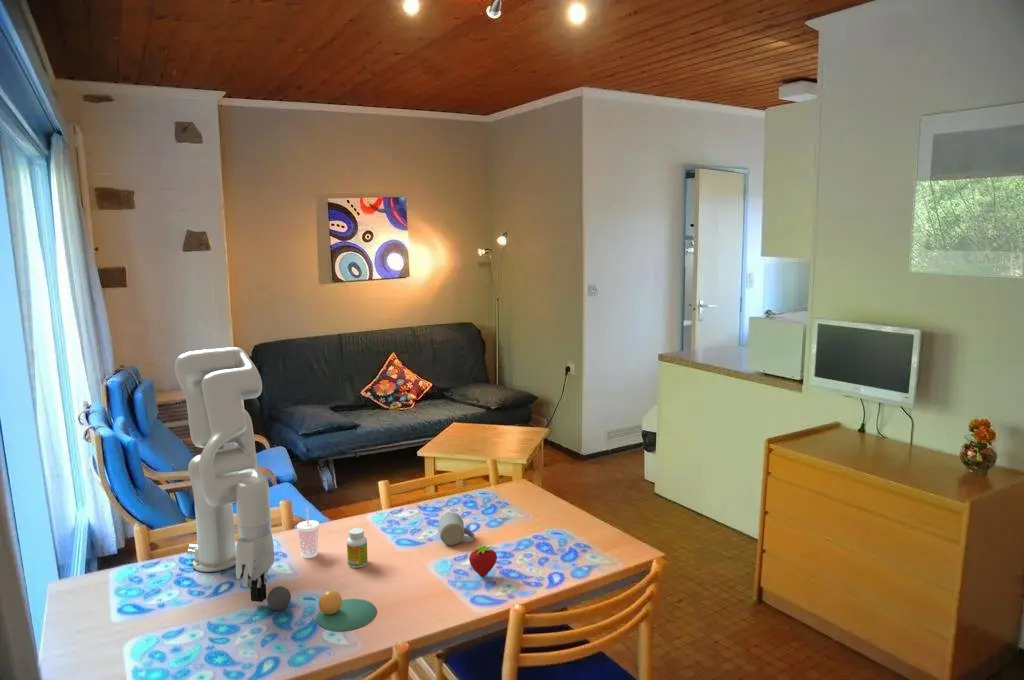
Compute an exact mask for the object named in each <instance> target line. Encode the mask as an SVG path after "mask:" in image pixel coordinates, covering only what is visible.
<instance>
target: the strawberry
mask: <svg viewBox="0 0 1024 680" xmlns="http://www.w3.org/2000/svg"><path fill="white" fill-rule="evenodd" d="M482 545H483V542H482V543H481V544H479V545H478V547H474V548H472V552H471V553H470V554H469V558H468V561H469V564H470V567H471V568H472V569H473V571H474V572H475V573H476V574H478V575H479V577H480V578H484V576H485V577H486V576H487V575H488V574H489V572H491V570H492V569H493V567H495V565H496V563H497V559H498V555H497V552H496V551H495V550H493V549H491V548H492V546H487V545H483V546H482Z"/></svg>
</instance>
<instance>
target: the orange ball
mask: <svg viewBox="0 0 1024 680" xmlns="http://www.w3.org/2000/svg"><path fill="white" fill-rule="evenodd" d="M342 600H343V599H342V596H341V594H340V593H339V592H338V591H337V590H332V589H331V590H326V591H325V592H322V594H321V595H320V596H319V599H318V609H319V611H320V610H321V612H323V613H324V614H327V615H332V614H334V613H336V612H337V611H338V610H339V609H340V608H341V605H342Z"/></svg>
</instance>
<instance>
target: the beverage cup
mask: <svg viewBox="0 0 1024 680" xmlns="http://www.w3.org/2000/svg"><path fill="white" fill-rule="evenodd" d="M319 527H320V522H319V521H317V520H313V519H312V520H310V519H309V507H306V520H303V521H301V522H298V523H297V524H296V529H297V532H298V533H297V534H298V540H299V541H298V542H299V550H300V556H301V558H303V557H304V559H311V558H315V557H316V556H318V553H319V552H318V551H319V550H318V548H319Z"/></svg>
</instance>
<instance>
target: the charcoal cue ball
mask: <svg viewBox="0 0 1024 680" xmlns="http://www.w3.org/2000/svg"><path fill="white" fill-rule="evenodd" d="M291 600H292V595H291V591H290V590H289V589H288V587H285V586H282V585H279V586H275V587H273V588H272V589H270V591H269V592H268V594H267V595H266V604H267V605H268V607H269V608H270V609H271V610H274V611H282V610H284V609H285V608H287V607H288V605H289V604H290V603H291Z"/></svg>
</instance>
